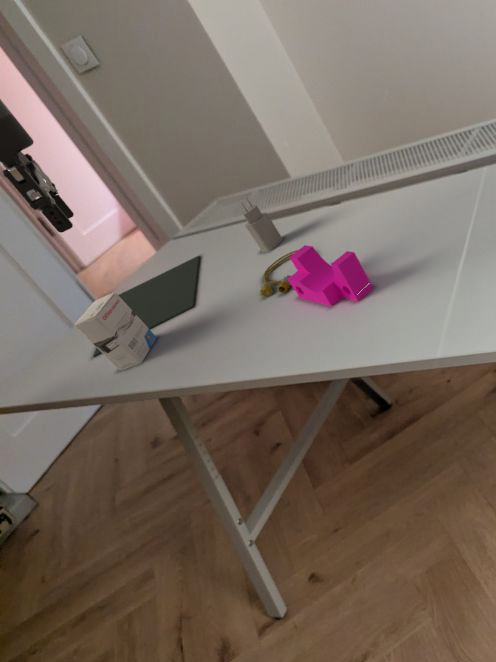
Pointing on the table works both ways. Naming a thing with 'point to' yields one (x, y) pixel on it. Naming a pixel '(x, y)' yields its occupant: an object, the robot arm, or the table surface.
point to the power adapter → (261, 228)
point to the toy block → (328, 277)
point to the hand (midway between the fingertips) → (67, 223)
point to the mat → (163, 295)
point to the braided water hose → (284, 282)
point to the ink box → (116, 331)
